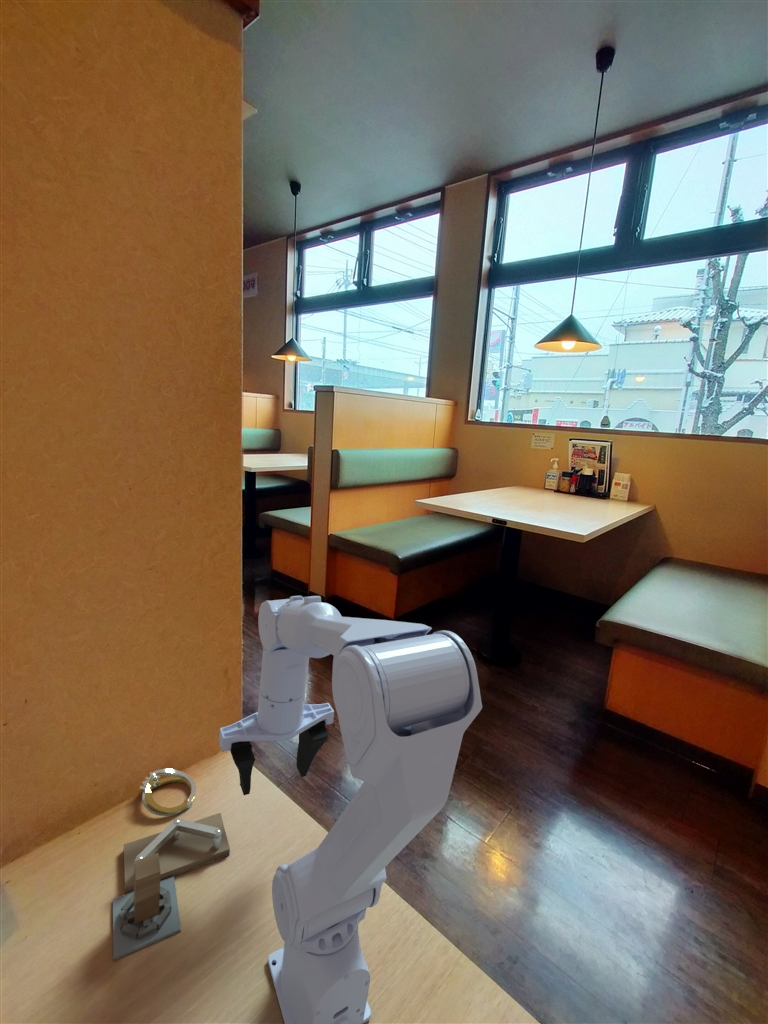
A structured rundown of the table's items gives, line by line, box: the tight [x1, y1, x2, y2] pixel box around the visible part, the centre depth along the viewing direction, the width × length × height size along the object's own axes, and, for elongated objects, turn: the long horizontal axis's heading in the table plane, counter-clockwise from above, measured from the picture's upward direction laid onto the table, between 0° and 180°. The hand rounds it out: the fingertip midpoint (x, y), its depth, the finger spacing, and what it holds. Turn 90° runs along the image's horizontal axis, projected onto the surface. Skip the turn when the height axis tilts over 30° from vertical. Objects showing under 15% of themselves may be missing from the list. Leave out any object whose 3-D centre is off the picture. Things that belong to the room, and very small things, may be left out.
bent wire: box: [134, 818, 222, 864], centre depth 59 cm, size 5×10×4 cm, turn 121°
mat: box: [112, 876, 182, 961], centre depth 52 cm, size 6×6×1 cm
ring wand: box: [120, 853, 172, 940], centre depth 51 cm, size 5×5×7 cm
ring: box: [139, 768, 197, 817], centre depth 67 cm, size 7×3×8 cm
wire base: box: [123, 812, 231, 895], centre depth 59 cm, size 6×12×1 cm, turn 121°
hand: (274, 779), depth 60 cm, fingers open, 7 cm apart
